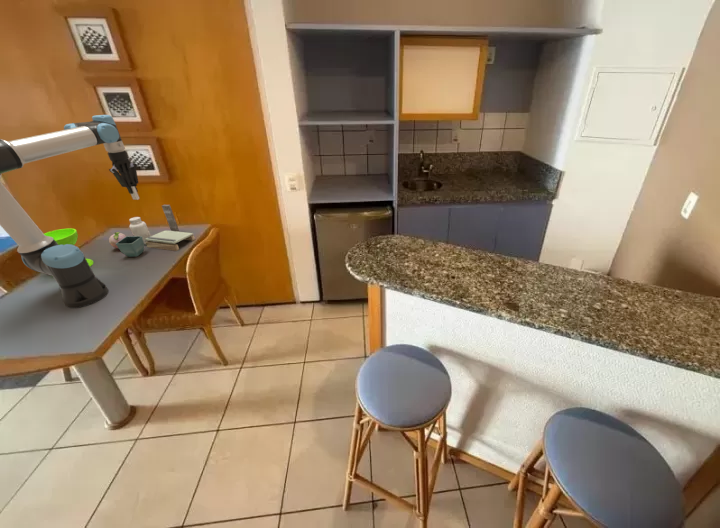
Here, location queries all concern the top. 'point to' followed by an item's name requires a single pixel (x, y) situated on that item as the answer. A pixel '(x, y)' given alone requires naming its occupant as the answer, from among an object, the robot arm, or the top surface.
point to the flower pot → (131, 246)
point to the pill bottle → (139, 228)
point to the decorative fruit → (116, 238)
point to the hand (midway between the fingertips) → (136, 199)
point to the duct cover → (169, 236)
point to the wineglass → (66, 238)
